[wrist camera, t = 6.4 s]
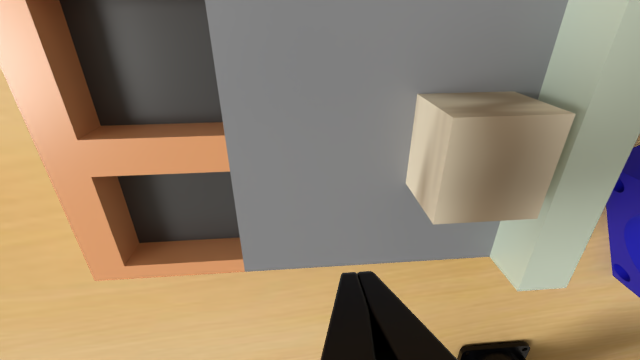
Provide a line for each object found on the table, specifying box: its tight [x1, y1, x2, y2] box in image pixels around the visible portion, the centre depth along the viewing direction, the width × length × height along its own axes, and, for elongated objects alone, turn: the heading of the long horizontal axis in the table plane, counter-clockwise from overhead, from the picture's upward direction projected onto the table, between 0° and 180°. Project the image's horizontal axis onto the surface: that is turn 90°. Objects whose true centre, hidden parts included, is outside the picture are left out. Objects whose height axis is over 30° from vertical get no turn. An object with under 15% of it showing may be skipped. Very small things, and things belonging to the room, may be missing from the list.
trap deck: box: [0, 0, 640, 291], centre depth 17 cm, size 28×16×6 cm, turn 90°
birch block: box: [406, 91, 575, 225], centre depth 16 cm, size 5×5×4 cm
